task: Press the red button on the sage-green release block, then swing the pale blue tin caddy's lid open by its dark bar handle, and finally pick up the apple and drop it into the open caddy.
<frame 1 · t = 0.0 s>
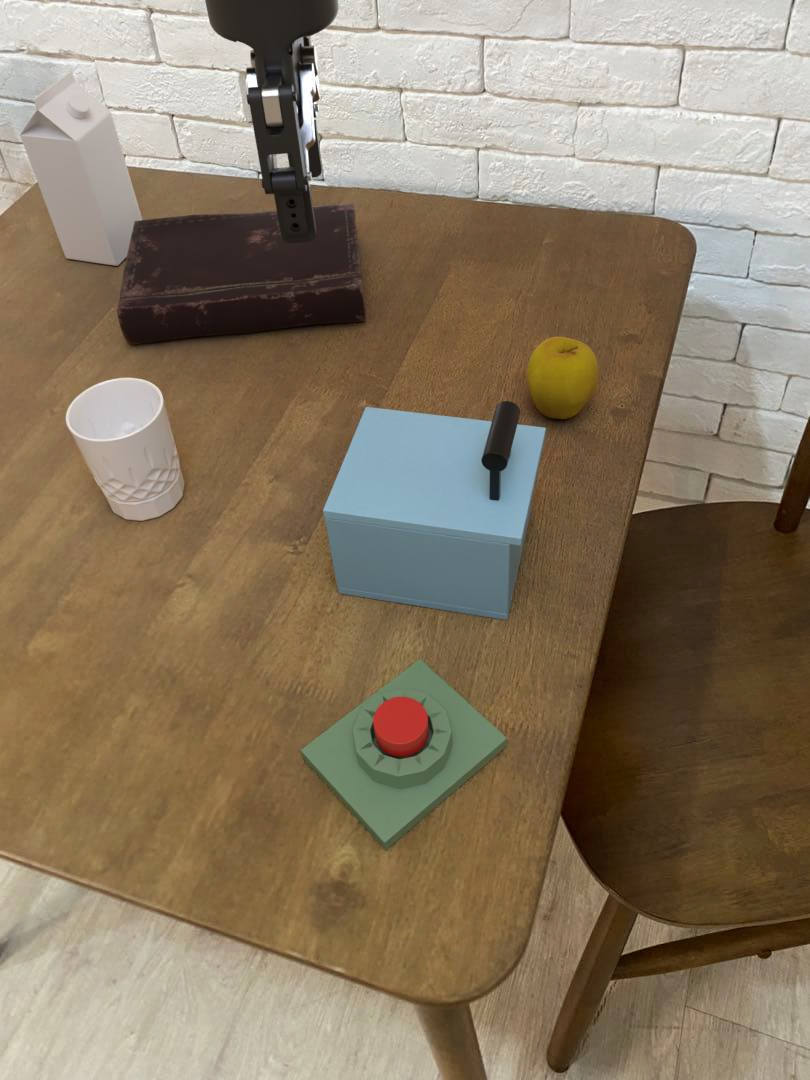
hand: (303, 205, 63), 26 cm above the table, tool pointing down, fingers open, 8 cm apart
button: (401, 726, 62), point 3 cm above the table, slide at 0.1 cm
white cup: (148, 495, 84), on the table
lid: (436, 447, 68), point 12 cm above the table, hinge at 0.0°
milk carton: (107, 249, 112), on the table
release block: (404, 752, 65), on the table
diary: (250, 291, 104), on the table
caddy: (437, 551, 77), on the table
apple: (559, 411, 88), on the table
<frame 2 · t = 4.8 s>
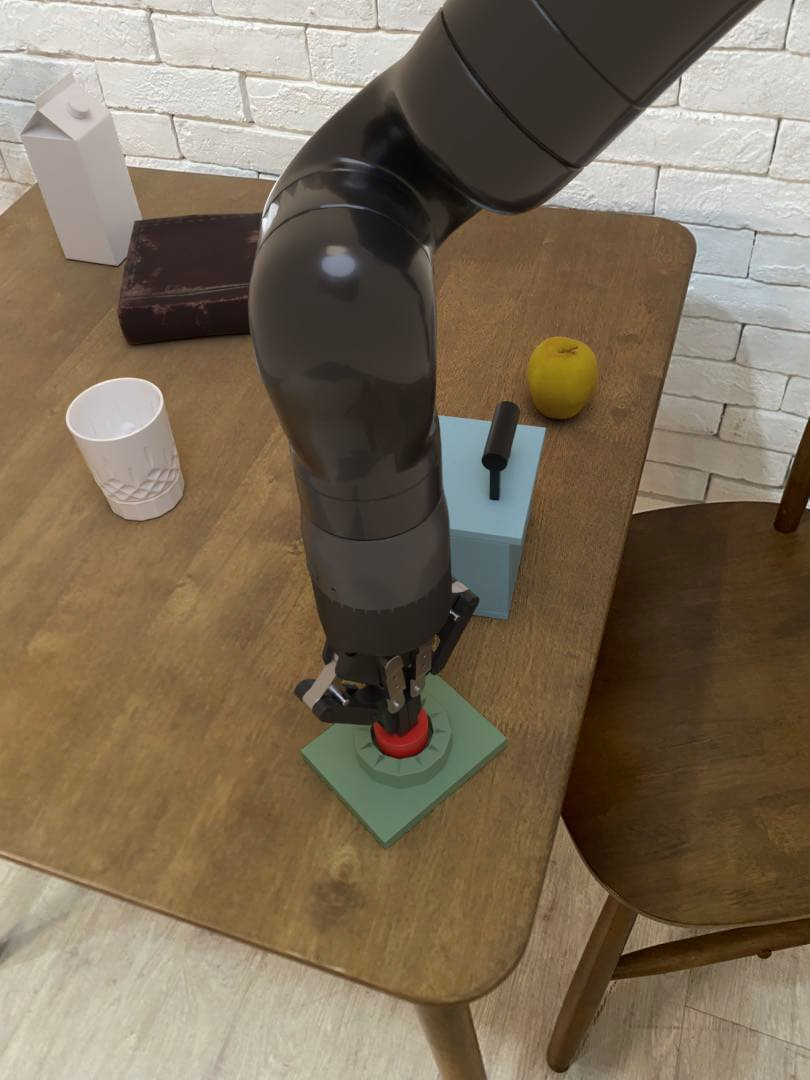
hand: (399, 722, 62), 4 cm above the table, tool pointing down, fingers closed
button: (401, 728, 62), point 3 cm above the table, slide at -0.1 cm, touching gripper
everything else where it was.
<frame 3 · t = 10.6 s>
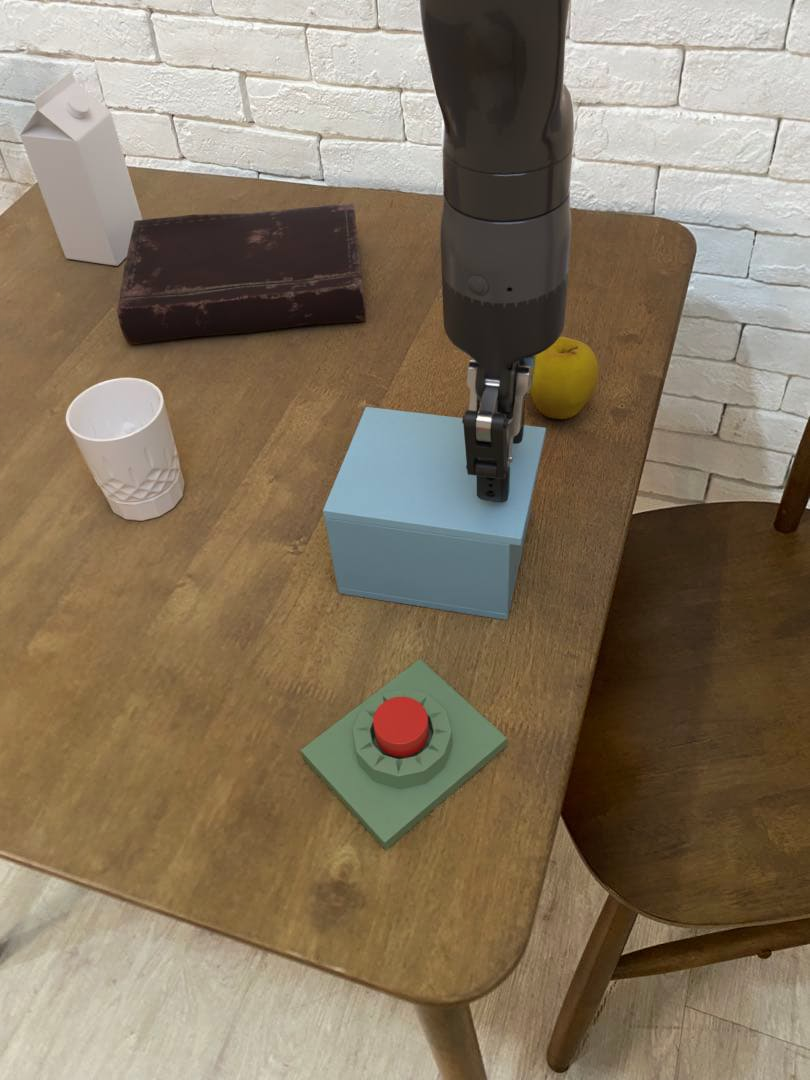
hand: (500, 466, 68), 11 cm above the table, tool pointing down, fingers closed on lid, 5 cm apart
button: (401, 726, 62), point 3 cm above the table, slide at 0.1 cm
lid: (436, 447, 68), point 12 cm above the table, hinge at 0.0°, touching gripper
everything else where it was.
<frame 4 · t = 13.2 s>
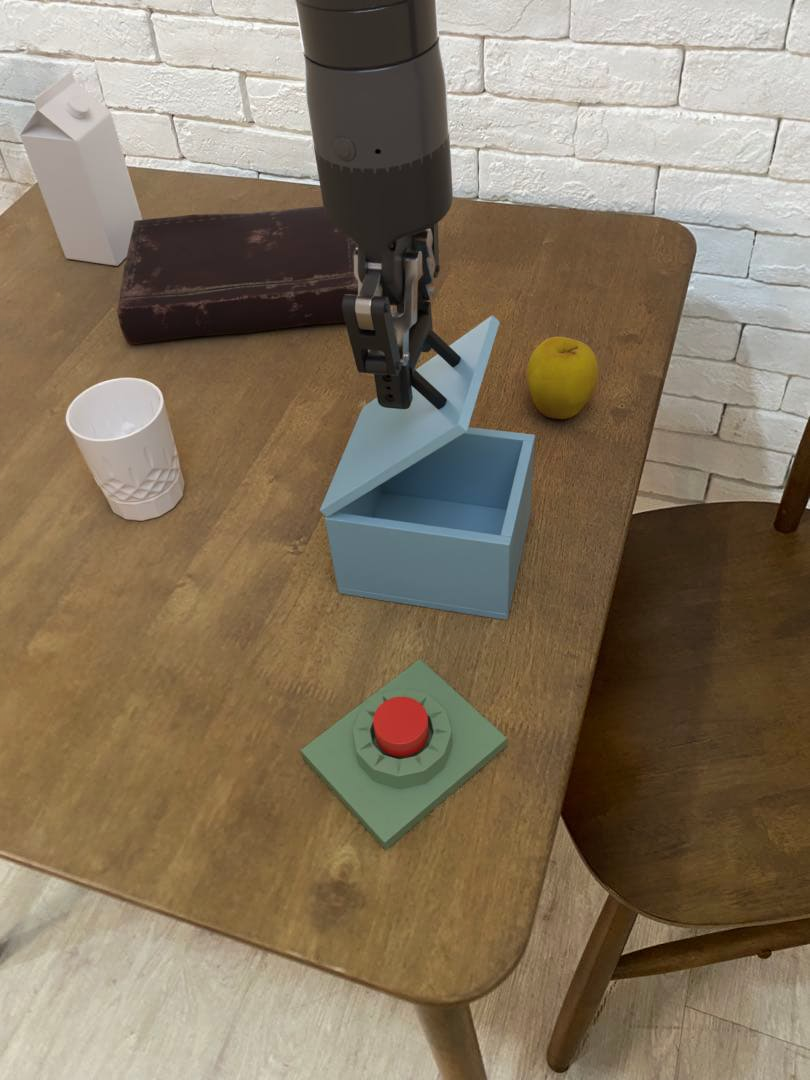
hand: (407, 374, 64), 18 cm above the table, tool pointing down, fingers closed on lid, 5 cm apart
lid: (384, 396, 66), point 16 cm above the table, hinge at 43.5°, touching gripper
everything else where it was.
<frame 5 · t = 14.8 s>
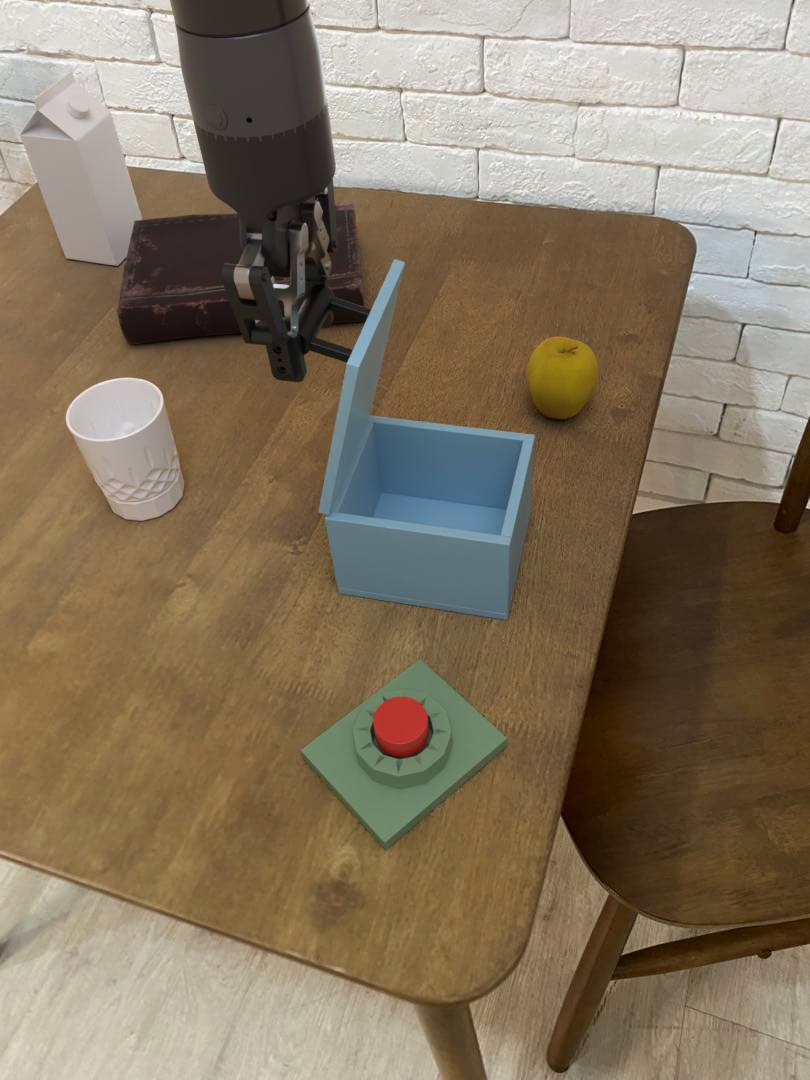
hand: (304, 349, 64), 19 cm above the table, tool pointing down, fingers closed on lid, 5 cm apart
lid: (328, 380, 66), point 17 cm above the table, hinge at 74.9°, touching gripper
everything else where it was.
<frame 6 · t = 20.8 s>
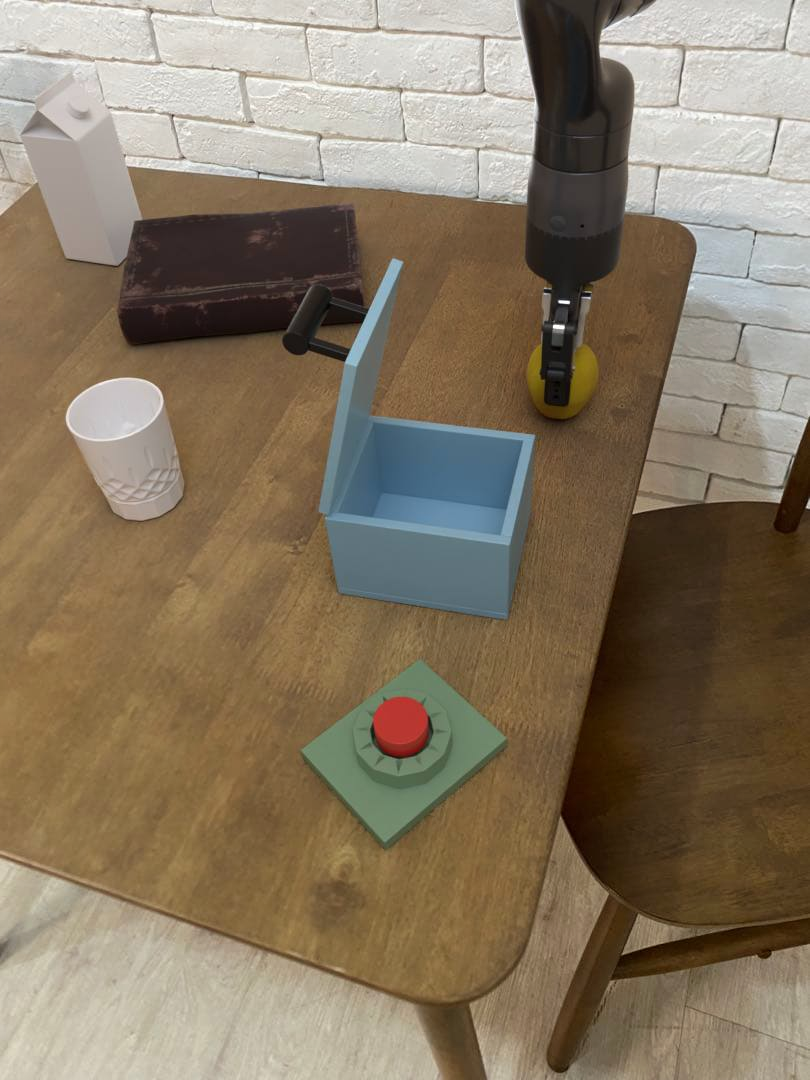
hand: (561, 378, 85), 4 cm above the table, tool pointing down, fingers closed on apple, 6 cm apart
lid: (327, 380, 66), point 17 cm above the table, hinge at 75.4°
apple: (559, 411, 88), on the table, touching gripper
everything else where it was.
when the fingers open (14 cm above the table, at t = 26.1 s): apple drops 9 cm, resting on caddy.
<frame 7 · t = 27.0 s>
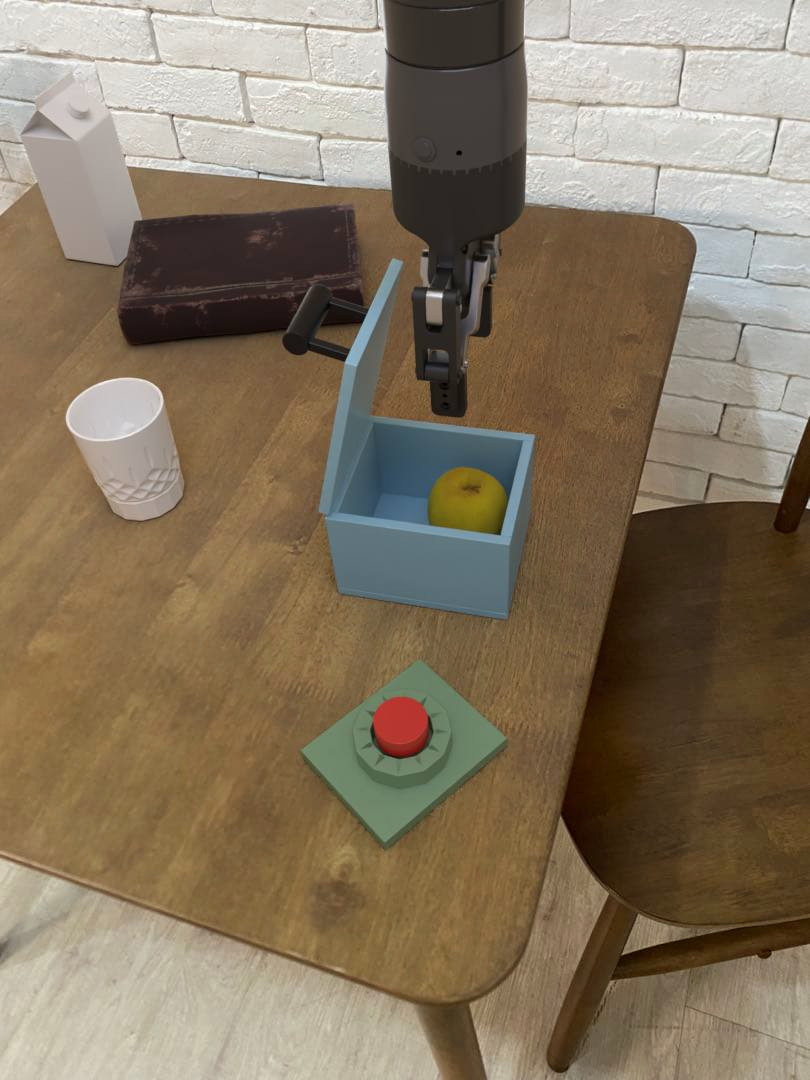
hand: (463, 371, 62), 19 cm above the table, tool pointing down, fingers open, 8 cm apart
apple: (468, 547, 76), point 1 cm above the table, touching caddy
everything else where it was.
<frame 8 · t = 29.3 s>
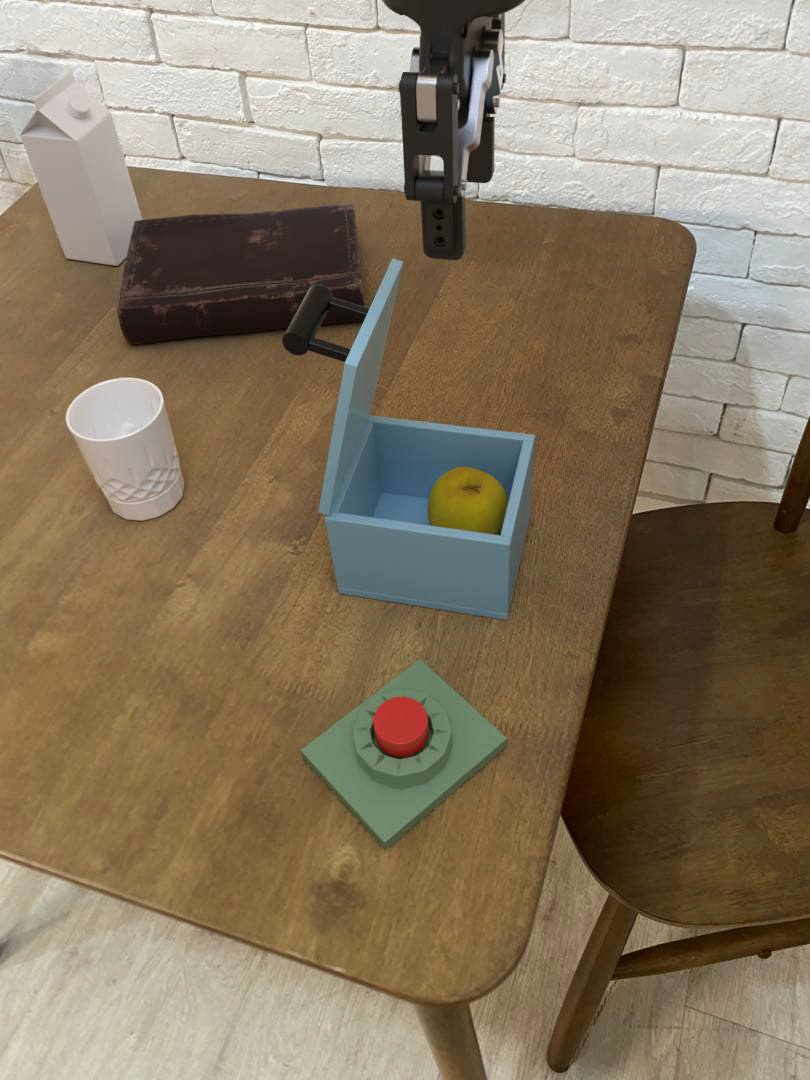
hand: (460, 215, 54), 30 cm above the table, tool pointing down, fingers open, 8 cm apart
nothing on the table moved.
at the end: button pushed in 1.1 cm at the most during the clip, back to where it started at the end; lid at +75° (first picture: +0°); apple inside the target area in the caddy (2.5 cm from its centre), point 0.6 cm above the caddy's base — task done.
